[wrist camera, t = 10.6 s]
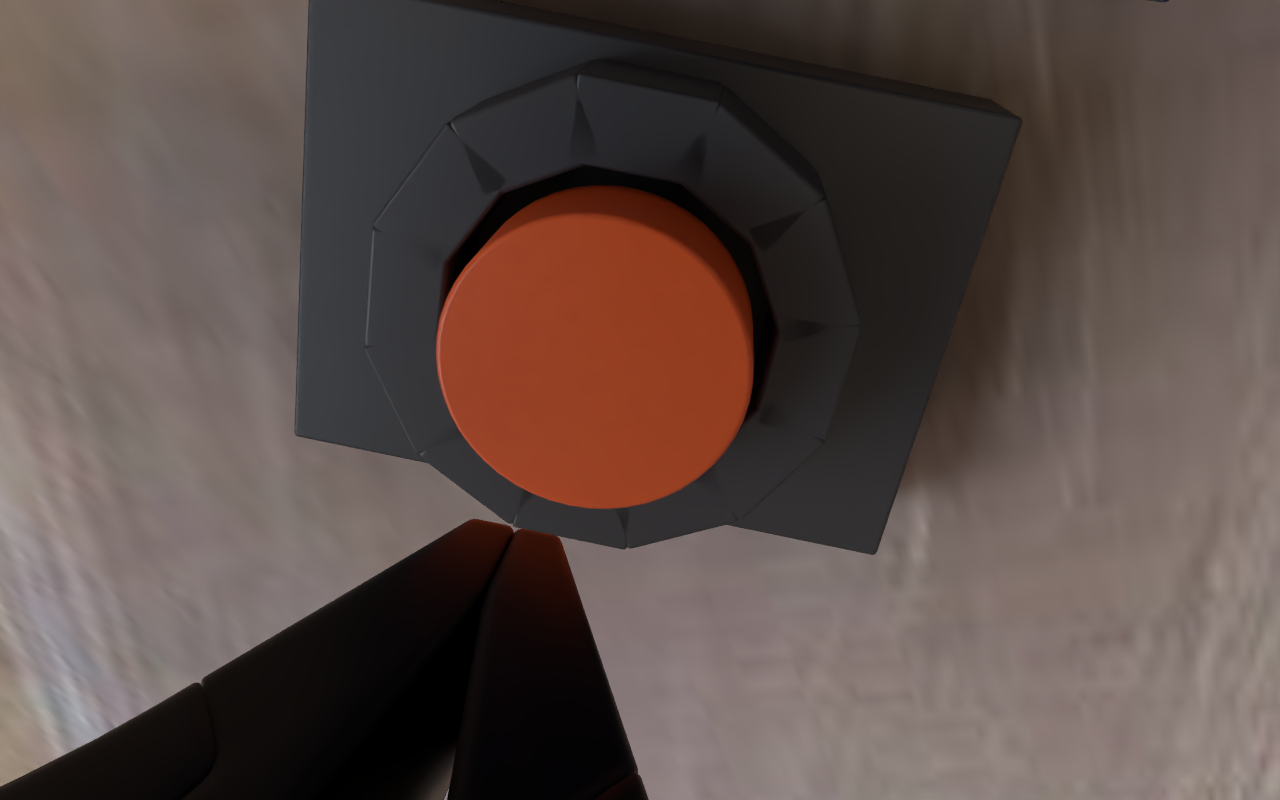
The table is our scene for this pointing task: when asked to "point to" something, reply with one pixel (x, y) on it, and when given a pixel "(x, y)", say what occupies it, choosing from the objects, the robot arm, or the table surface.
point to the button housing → (670, 168)
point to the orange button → (599, 348)
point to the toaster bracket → (1160, 0)
